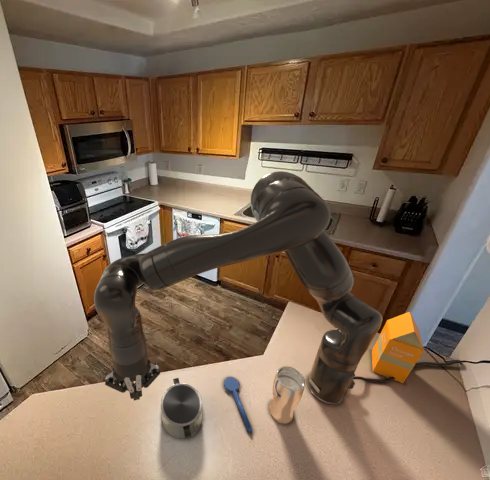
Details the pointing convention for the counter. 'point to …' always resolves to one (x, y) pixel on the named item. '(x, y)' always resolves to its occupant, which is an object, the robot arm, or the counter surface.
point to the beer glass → (286, 393)
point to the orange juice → (397, 348)
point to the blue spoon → (237, 398)
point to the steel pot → (181, 410)
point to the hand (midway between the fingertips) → (136, 396)
